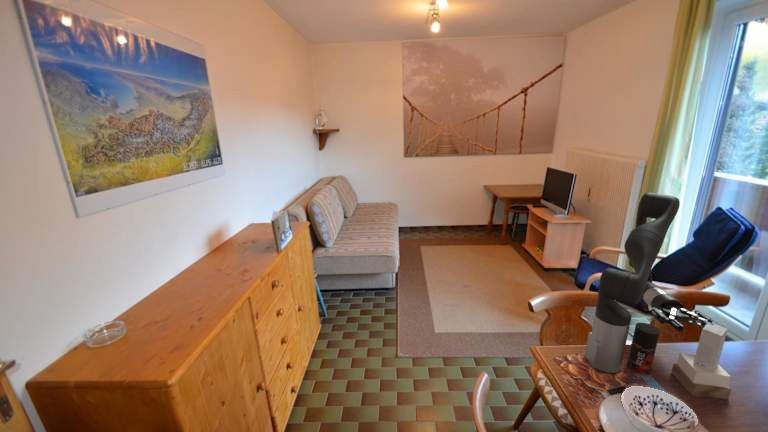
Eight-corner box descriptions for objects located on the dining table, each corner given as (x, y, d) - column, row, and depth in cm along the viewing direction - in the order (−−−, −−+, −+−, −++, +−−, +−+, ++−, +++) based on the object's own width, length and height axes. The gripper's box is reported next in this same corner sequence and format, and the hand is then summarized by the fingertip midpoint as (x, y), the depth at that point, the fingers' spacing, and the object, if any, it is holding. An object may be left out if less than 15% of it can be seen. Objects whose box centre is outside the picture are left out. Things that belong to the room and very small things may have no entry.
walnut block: (692, 396, 94) (695, 385, 93) (670, 373, 102) (673, 363, 101) (727, 399, 92) (731, 388, 91) (702, 376, 101) (706, 365, 100)
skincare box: (712, 373, 92) (723, 337, 88) (691, 363, 95) (701, 328, 92) (718, 364, 95) (729, 328, 92) (698, 355, 99) (708, 321, 95)
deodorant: (647, 364, 106) (656, 325, 102) (652, 377, 101) (662, 336, 96) (625, 359, 108) (633, 320, 104) (629, 371, 103) (638, 331, 99)
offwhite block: (693, 383, 93) (696, 371, 92) (676, 363, 101) (679, 353, 100) (727, 388, 92) (730, 376, 90) (707, 367, 99) (711, 357, 98)
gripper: (642, 291, 113) (674, 318, 98) (687, 294, 111) (728, 321, 96) (637, 310, 115) (669, 339, 100) (682, 313, 113) (721, 343, 98)
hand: (698, 330), depth 98 cm, fingers open, 8 cm apart
